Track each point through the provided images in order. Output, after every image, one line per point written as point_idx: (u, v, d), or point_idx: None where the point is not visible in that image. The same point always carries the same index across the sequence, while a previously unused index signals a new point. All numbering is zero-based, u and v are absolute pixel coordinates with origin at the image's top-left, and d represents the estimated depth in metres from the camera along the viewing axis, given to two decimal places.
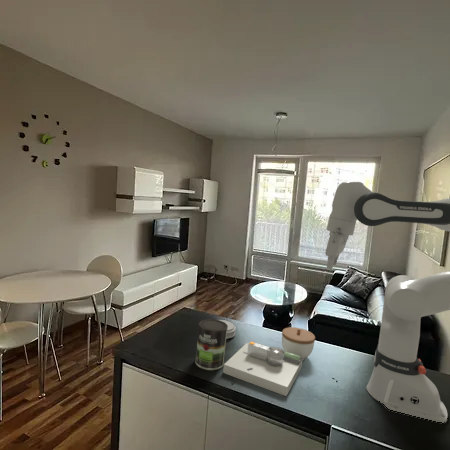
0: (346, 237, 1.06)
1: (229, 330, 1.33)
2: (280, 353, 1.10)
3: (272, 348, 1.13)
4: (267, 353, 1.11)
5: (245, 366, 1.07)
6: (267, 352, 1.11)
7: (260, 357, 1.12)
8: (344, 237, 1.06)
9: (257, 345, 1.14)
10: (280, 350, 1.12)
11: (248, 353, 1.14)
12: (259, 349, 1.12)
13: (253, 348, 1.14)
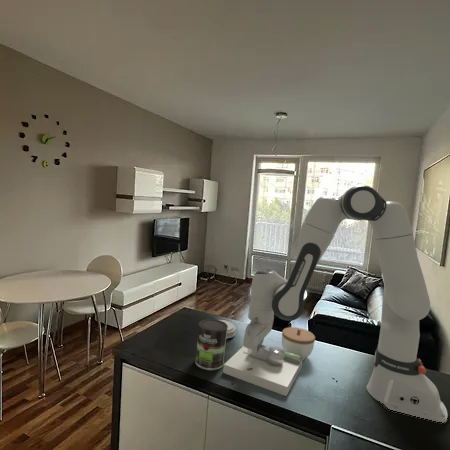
0: (265, 324, 1.11)
1: (229, 330, 1.33)
2: (280, 353, 1.10)
3: (272, 348, 1.13)
4: (267, 353, 1.11)
5: (245, 366, 1.07)
6: (267, 352, 1.11)
7: (260, 357, 1.12)
8: (263, 325, 1.10)
9: None
10: (280, 350, 1.12)
11: (248, 353, 1.14)
12: (259, 349, 1.12)
13: None
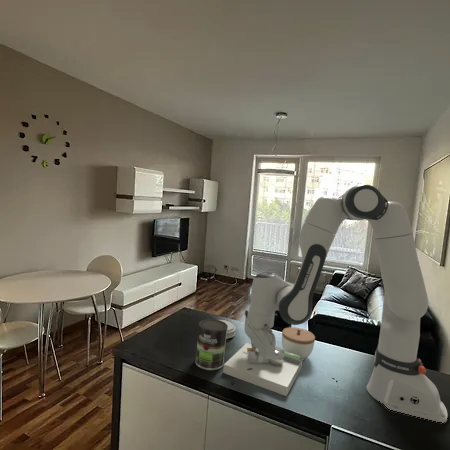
0: None
1: (229, 330, 1.33)
2: (281, 352, 1.11)
3: None
4: None
5: (245, 366, 1.07)
6: None
7: None
8: None
9: (257, 350, 1.10)
10: (278, 349, 1.12)
11: (248, 361, 1.09)
12: None
13: (254, 355, 1.09)
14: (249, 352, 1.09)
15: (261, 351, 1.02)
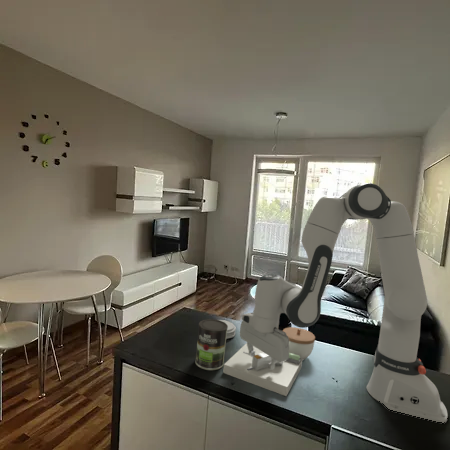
0: None
1: (229, 330, 1.33)
2: None
3: None
4: None
5: (245, 366, 1.07)
6: None
7: (267, 365, 1.07)
8: None
9: (262, 355, 1.07)
10: None
11: (257, 369, 1.04)
12: (267, 358, 1.07)
13: (261, 361, 1.05)
14: (258, 360, 1.04)
15: (274, 355, 1.00)
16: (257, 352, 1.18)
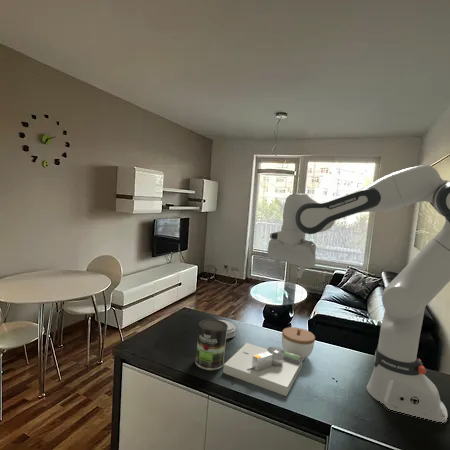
0: None
1: (229, 330, 1.33)
2: (280, 350, 1.12)
3: (270, 350, 1.11)
4: (274, 357, 1.08)
5: (245, 366, 1.07)
6: (274, 356, 1.08)
7: (267, 365, 1.07)
8: None
9: (262, 355, 1.07)
10: (275, 348, 1.13)
11: (257, 369, 1.04)
12: (267, 358, 1.07)
13: (262, 361, 1.05)
14: (258, 360, 1.04)
15: (302, 262, 1.10)
16: (257, 352, 1.18)
